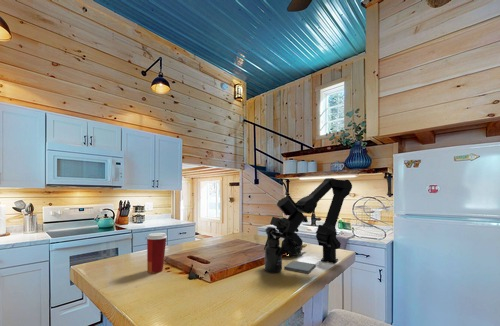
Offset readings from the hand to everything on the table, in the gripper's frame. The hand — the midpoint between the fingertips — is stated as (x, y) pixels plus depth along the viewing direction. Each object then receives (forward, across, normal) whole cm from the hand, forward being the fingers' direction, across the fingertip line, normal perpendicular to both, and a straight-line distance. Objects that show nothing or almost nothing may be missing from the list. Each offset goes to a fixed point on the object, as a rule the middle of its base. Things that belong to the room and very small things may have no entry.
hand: (271, 252), depth 98 cm
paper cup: (+33, -21, -23) cm, 46 cm away
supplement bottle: (+4, 0, +6) cm, 7 cm away
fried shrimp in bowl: (-13, -15, +23) cm, 30 cm away
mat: (-4, +2, +14) cm, 15 cm away
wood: (+22, -15, -12) cm, 29 cm away
